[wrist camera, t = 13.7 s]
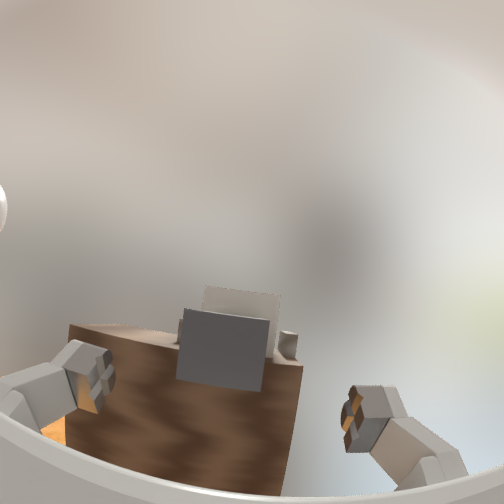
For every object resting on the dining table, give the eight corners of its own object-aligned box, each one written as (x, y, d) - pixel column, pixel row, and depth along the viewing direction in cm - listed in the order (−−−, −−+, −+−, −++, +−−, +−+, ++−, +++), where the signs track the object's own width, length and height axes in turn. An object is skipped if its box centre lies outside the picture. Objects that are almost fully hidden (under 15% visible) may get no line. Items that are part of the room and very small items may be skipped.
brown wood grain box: (78, 541, 16) (72, 299, 22) (114, 498, 27) (124, 306, 32) (257, 584, 16) (307, 338, 21) (256, 527, 27) (289, 331, 32)
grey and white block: (147, 372, 12) (163, 256, 13) (208, 341, 31) (215, 292, 32) (290, 395, 12) (306, 275, 13) (268, 349, 30) (274, 300, 31)
